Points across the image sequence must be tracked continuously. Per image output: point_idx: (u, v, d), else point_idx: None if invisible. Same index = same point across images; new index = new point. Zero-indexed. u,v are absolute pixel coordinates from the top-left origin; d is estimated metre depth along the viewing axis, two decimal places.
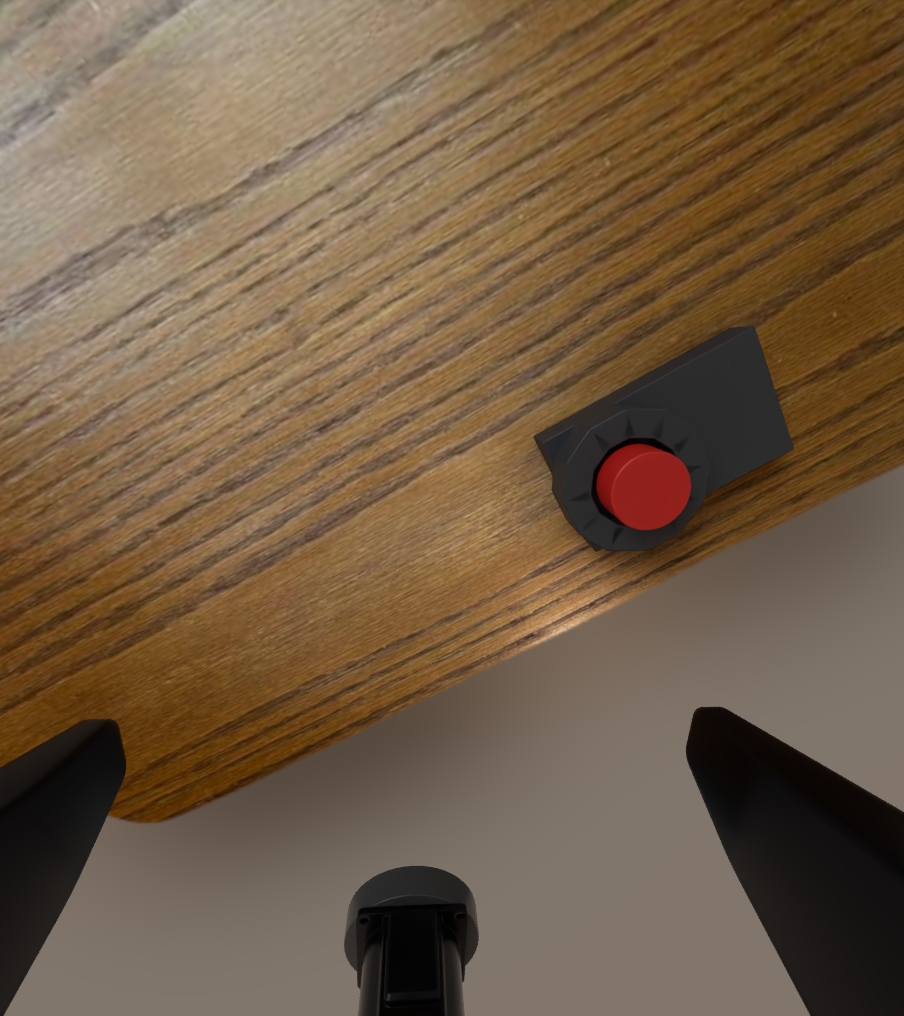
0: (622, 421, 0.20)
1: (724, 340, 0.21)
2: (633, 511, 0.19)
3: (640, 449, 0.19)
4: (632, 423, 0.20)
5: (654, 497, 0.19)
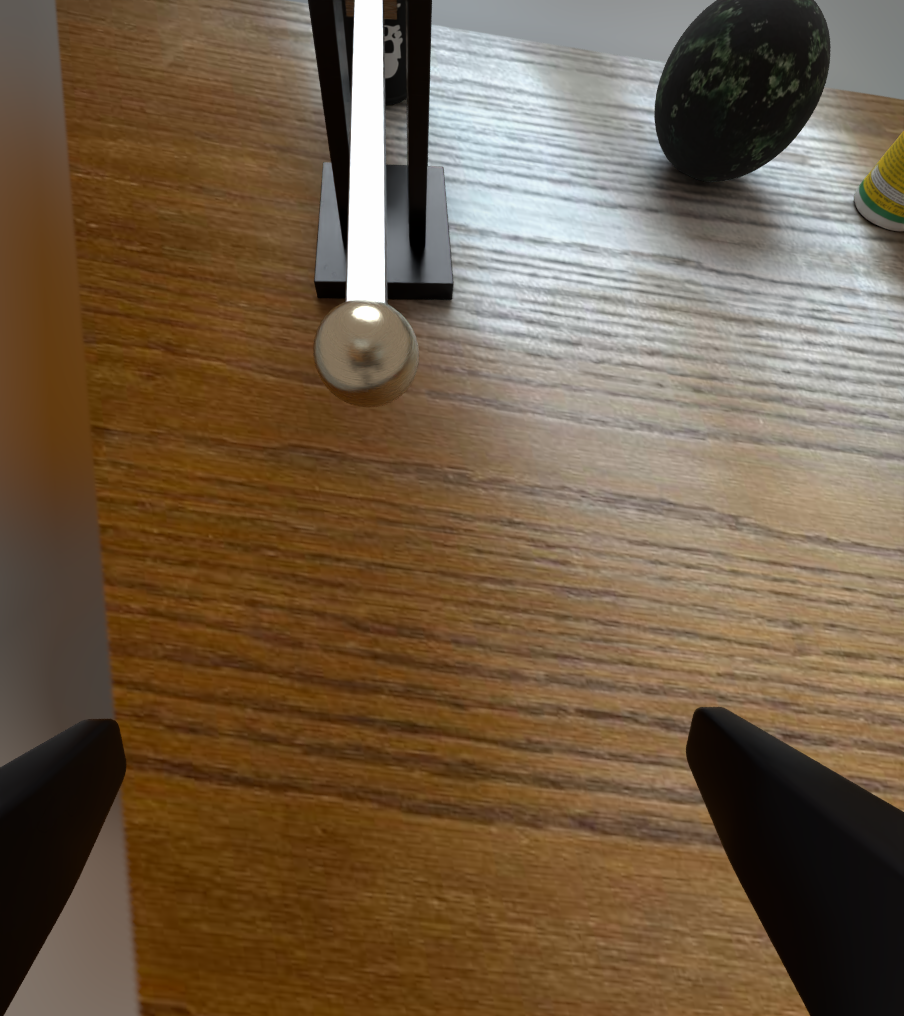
0: None
1: None
2: None
3: None
4: None
5: None
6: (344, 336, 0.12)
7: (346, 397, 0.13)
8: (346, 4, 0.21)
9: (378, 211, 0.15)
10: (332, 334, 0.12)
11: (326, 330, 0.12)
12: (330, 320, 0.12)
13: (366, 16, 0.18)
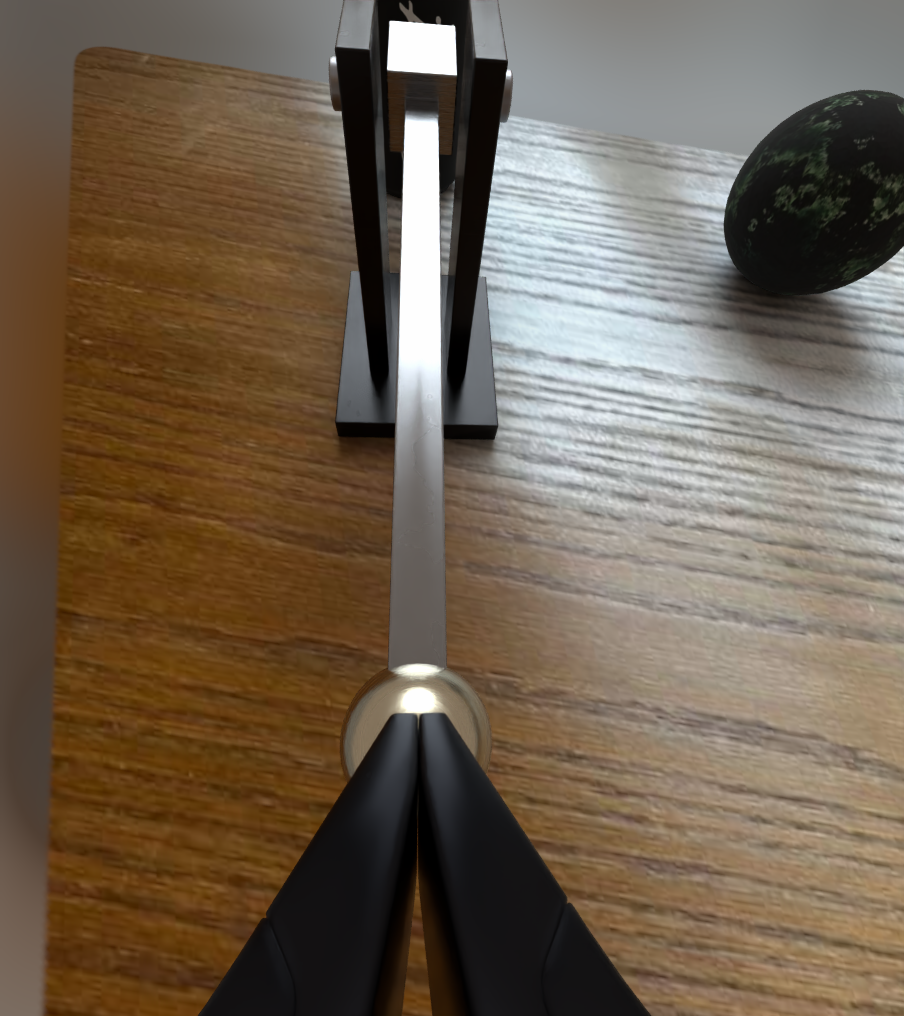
0: None
1: None
2: None
3: None
4: None
5: None
6: None
7: None
8: (391, 139, 0.17)
9: (434, 492, 0.11)
10: None
11: (361, 750, 0.08)
12: (367, 733, 0.08)
13: (418, 175, 0.14)
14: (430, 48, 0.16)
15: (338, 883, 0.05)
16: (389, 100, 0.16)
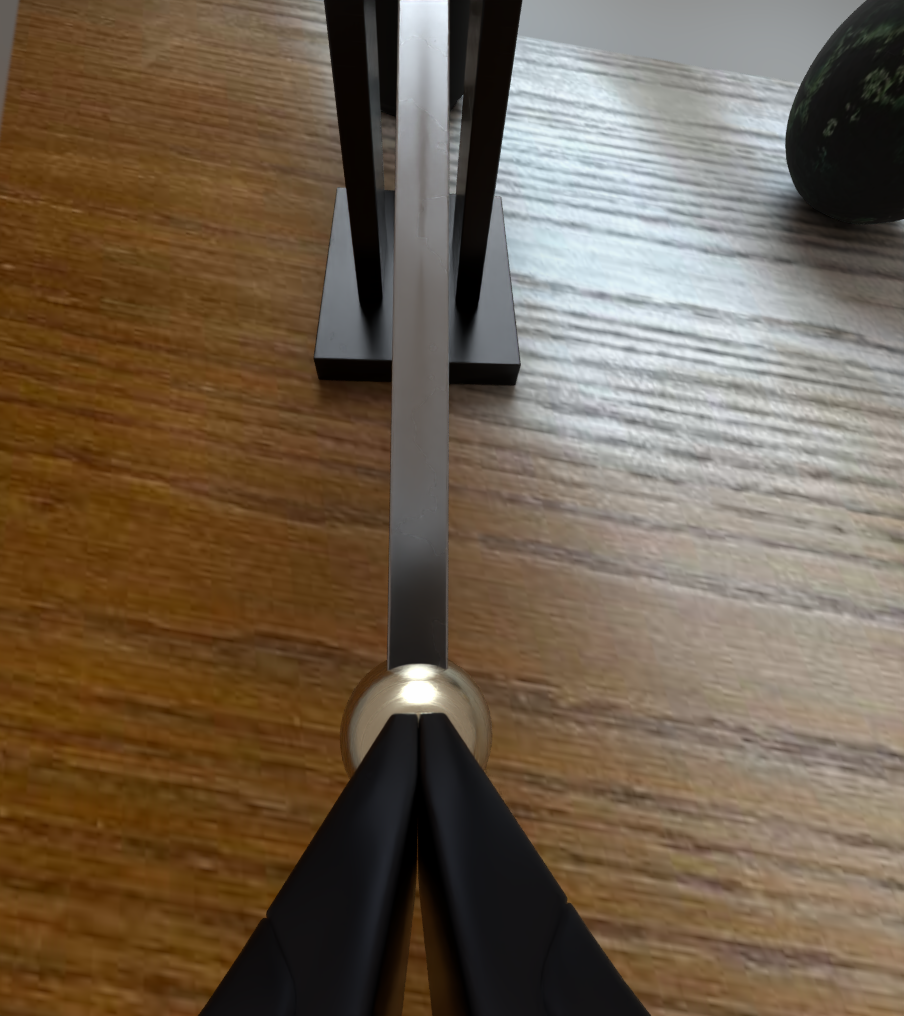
0: None
1: None
2: None
3: None
4: None
5: None
6: None
7: None
8: None
9: (437, 471, 0.09)
10: None
11: (361, 759, 0.08)
12: (366, 745, 0.08)
13: (420, 2, 0.11)
14: None
15: (338, 884, 0.05)
16: None
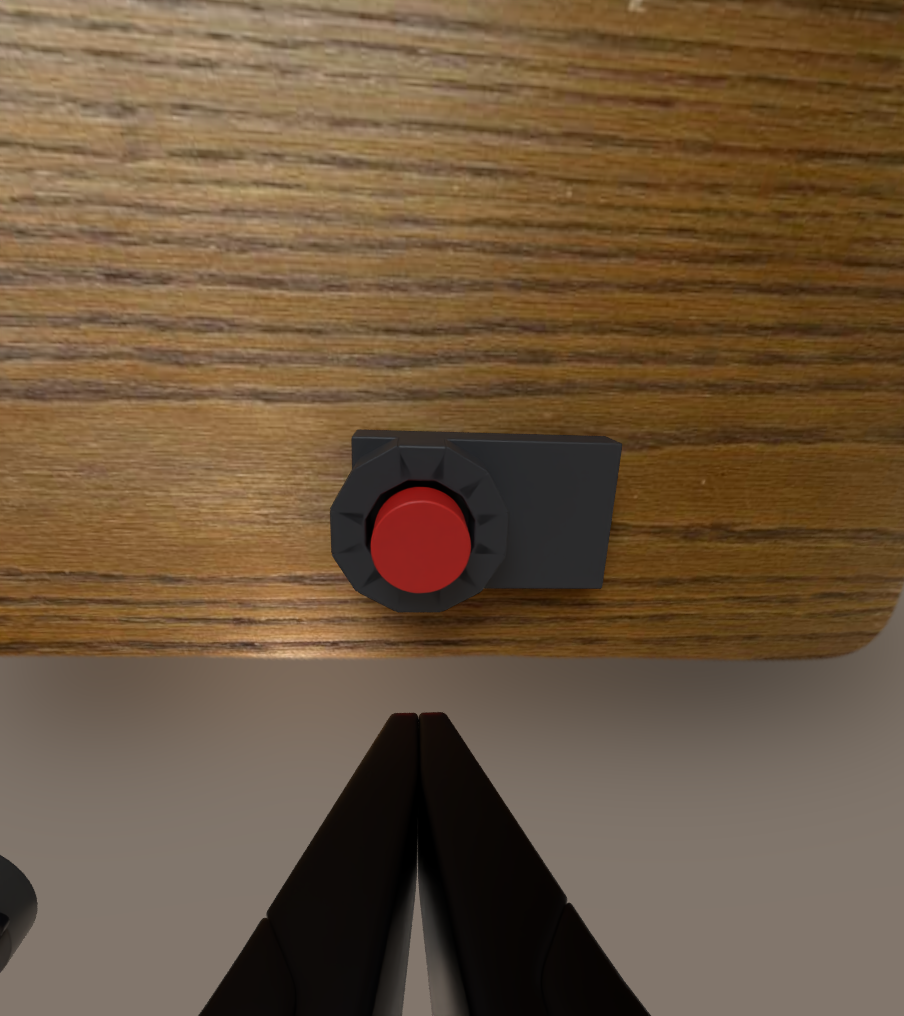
0: (436, 458, 0.16)
1: (588, 441, 0.19)
2: (391, 559, 0.16)
3: (436, 497, 0.16)
4: (446, 466, 0.17)
5: (421, 556, 0.16)
6: None
7: None
8: None
9: None
10: None
11: None
12: None
13: None
14: None
15: (338, 883, 0.05)
16: None
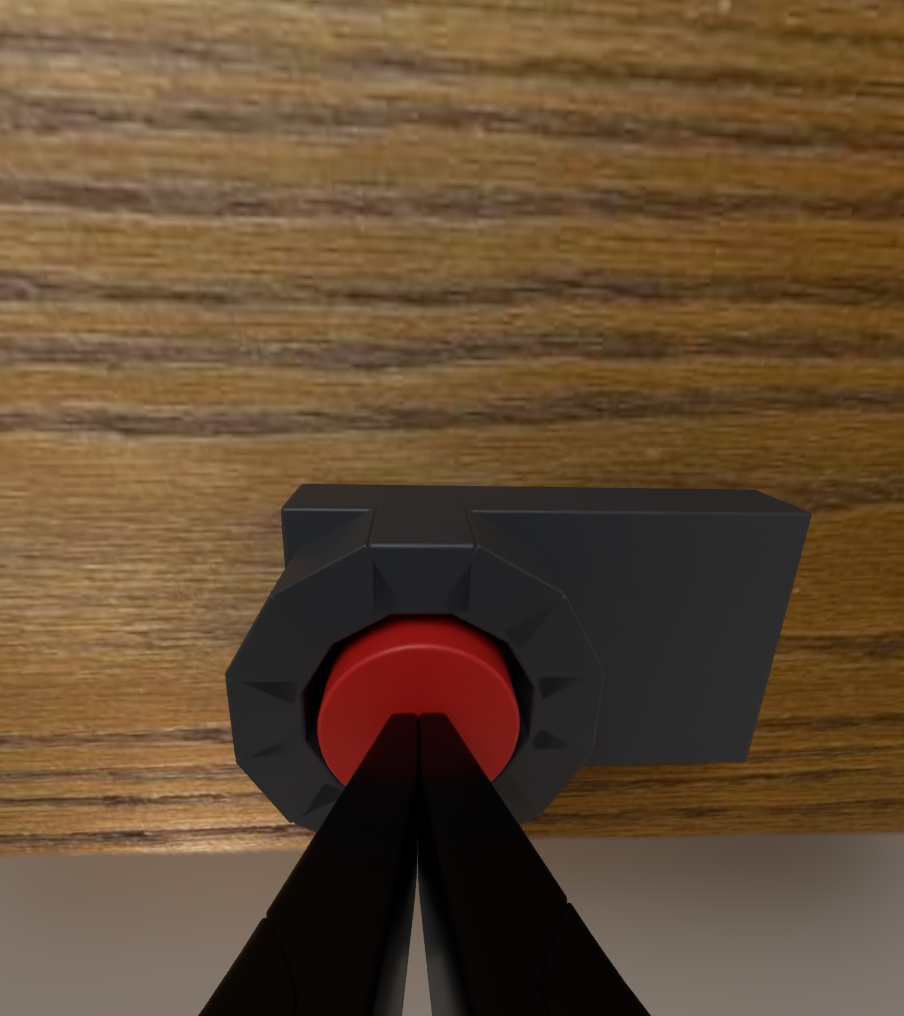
0: (453, 568, 0.07)
1: (745, 508, 0.10)
2: (360, 754, 0.08)
3: (449, 625, 0.08)
4: (474, 583, 0.08)
5: None
6: None
7: None
8: None
9: None
10: None
11: None
12: None
13: None
14: None
15: (338, 883, 0.05)
16: None
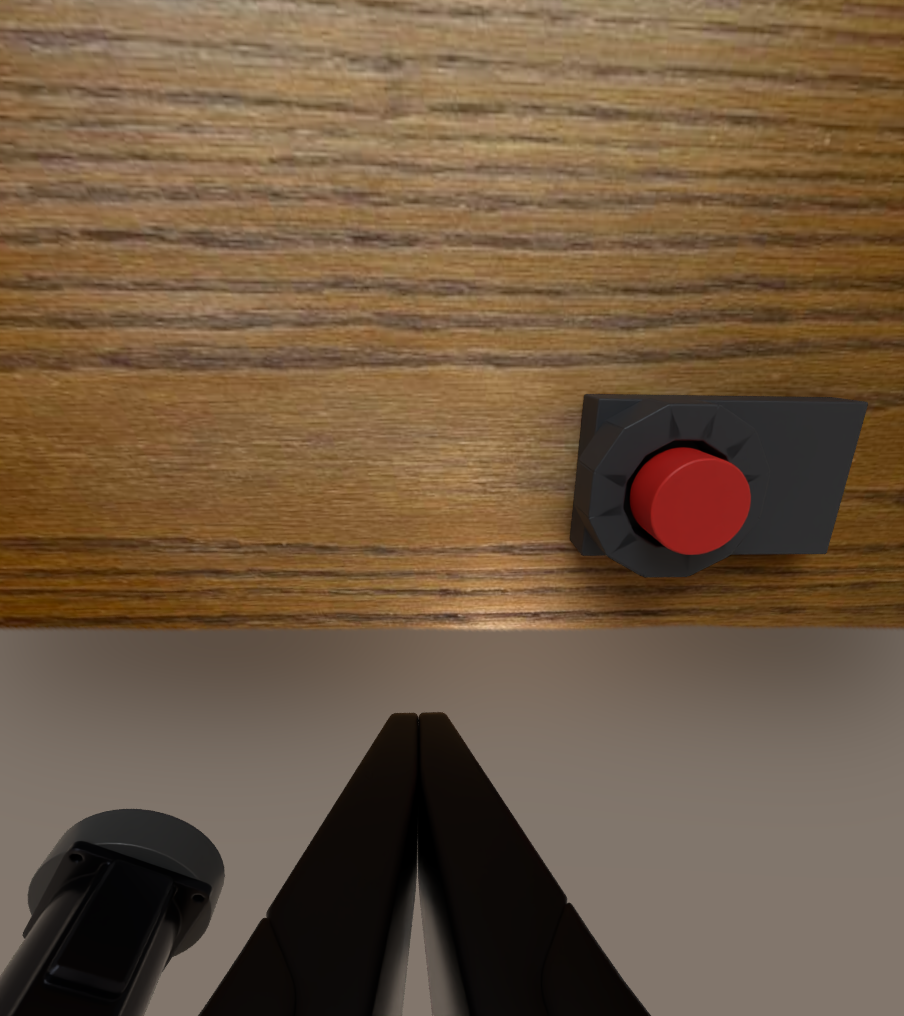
0: (707, 416, 0.16)
1: (832, 401, 0.18)
2: (670, 519, 0.15)
3: (712, 456, 0.16)
4: (714, 425, 0.16)
5: (700, 516, 0.15)
6: None
7: None
8: None
9: None
10: None
11: None
12: None
13: None
14: None
15: (338, 883, 0.05)
16: None
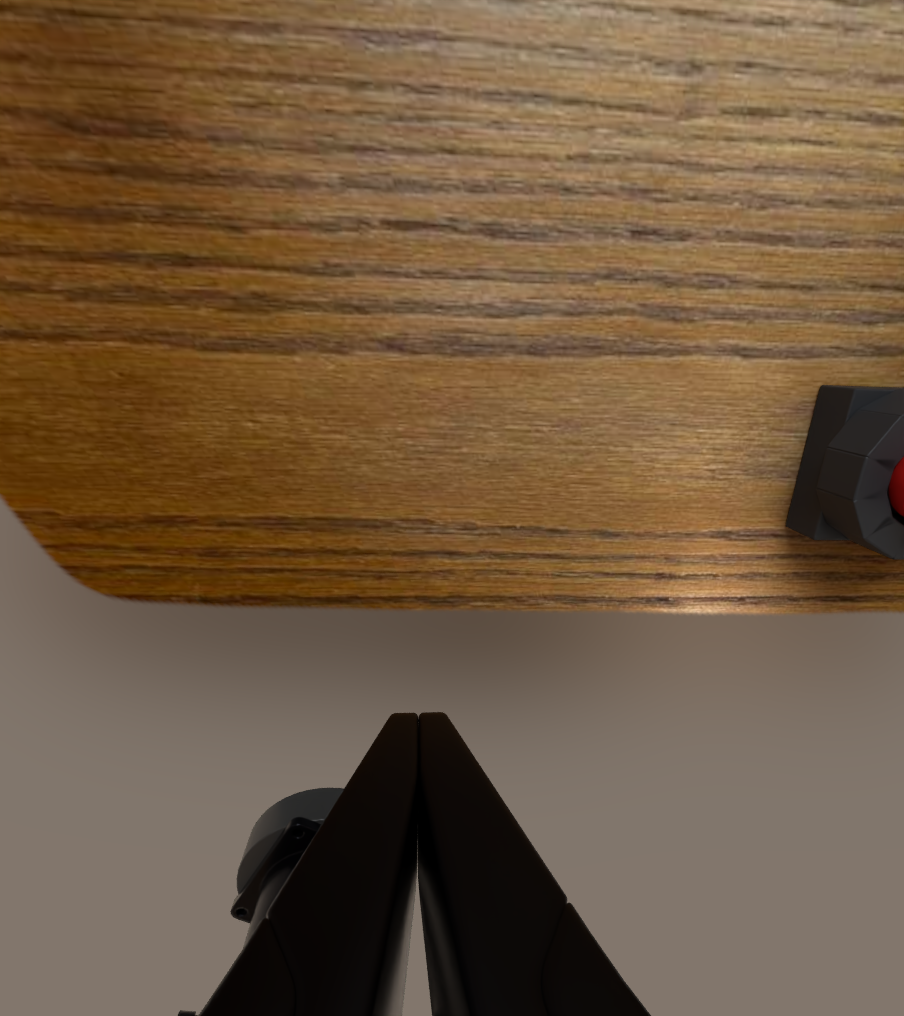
0: None
1: None
2: None
3: None
4: None
5: None
6: None
7: None
8: None
9: None
10: None
11: None
12: None
13: None
14: None
15: (338, 883, 0.05)
16: None
